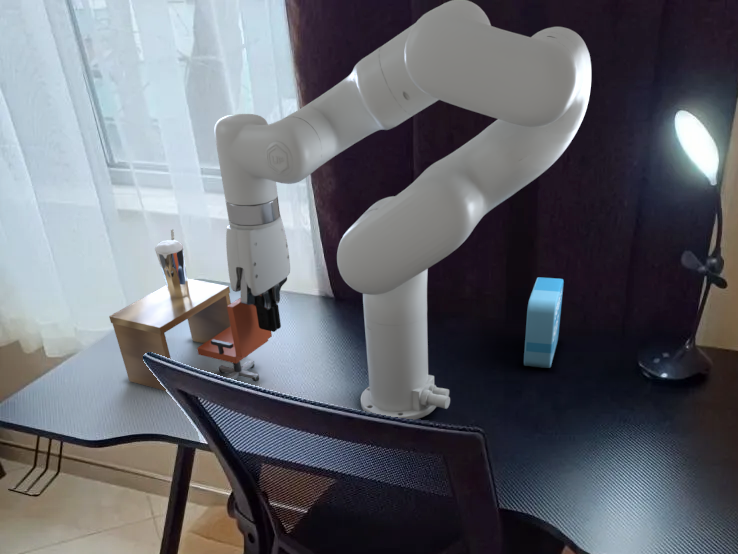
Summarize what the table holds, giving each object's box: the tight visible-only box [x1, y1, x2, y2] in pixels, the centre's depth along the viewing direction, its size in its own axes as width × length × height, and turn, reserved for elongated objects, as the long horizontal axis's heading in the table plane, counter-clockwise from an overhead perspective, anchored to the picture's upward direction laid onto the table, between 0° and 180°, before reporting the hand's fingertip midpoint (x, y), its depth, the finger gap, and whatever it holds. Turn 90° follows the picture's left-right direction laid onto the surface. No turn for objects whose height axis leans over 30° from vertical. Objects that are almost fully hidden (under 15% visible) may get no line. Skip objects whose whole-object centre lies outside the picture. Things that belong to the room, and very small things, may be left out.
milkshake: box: [154, 228, 189, 298], centre depth 132 cm, size 4×5×10 cm
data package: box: [523, 276, 565, 369], centre depth 134 cm, size 12×4×12 cm, turn 164°
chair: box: [196, 295, 273, 383], centre depth 131 cm, size 9×9×15 cm
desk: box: [108, 277, 232, 392], centre depth 137 cm, size 11×18×12 cm, turn 152°
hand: (270, 328), depth 126 cm, fingers closed
